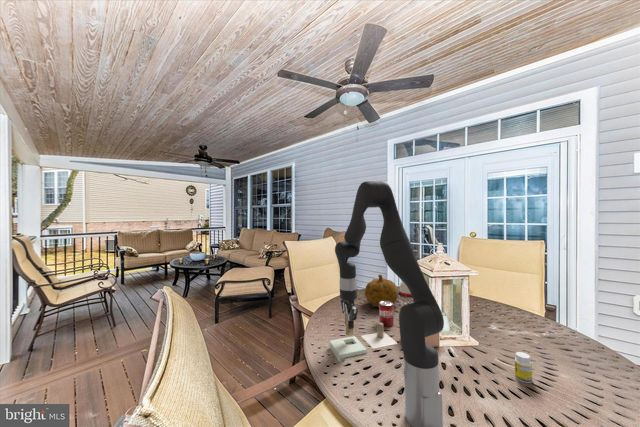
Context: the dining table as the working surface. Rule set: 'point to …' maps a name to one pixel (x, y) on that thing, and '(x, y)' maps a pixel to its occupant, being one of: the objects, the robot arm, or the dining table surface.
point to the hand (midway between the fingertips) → (349, 326)
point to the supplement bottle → (523, 367)
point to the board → (379, 338)
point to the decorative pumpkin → (381, 291)
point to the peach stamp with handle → (432, 340)
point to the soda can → (386, 313)
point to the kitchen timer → (404, 289)
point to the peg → (348, 331)
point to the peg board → (347, 348)
